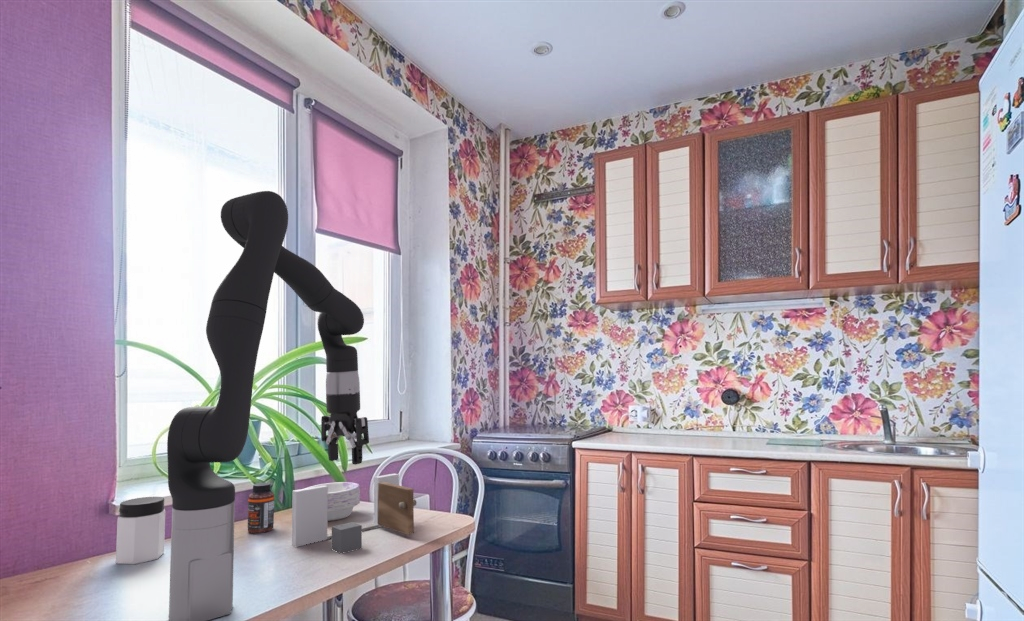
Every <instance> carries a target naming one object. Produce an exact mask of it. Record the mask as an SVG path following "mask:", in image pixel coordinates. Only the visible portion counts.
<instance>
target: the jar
mask: <svg viewBox="0 0 1024 621" xmlns="http://www.w3.org/2000/svg"><path fill="white" fill-rule="evenodd" d="M118 509H119V510H118V512H119V516H118V517H117V520H116V521H117V522H116V544H115V546H116V547H115V548H116V549H115V563H116V565H117V564H119V565H120V564H121V565H137V564H138V565H139V564H142V563H145V562H146V563H148V562H150V561H154V560H155V561H156V560H159V558H160V557H161V556H162V555H163V554H164V552H165V535H166V534H165V533H166V532H165V531H166V509H165V497H163V496H143V497H136V498H131V499H126V500H124V501H122V502H120V503H119V508H118Z"/></svg>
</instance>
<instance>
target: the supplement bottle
mask: <svg viewBox="0 0 1024 621" xmlns="http://www.w3.org/2000/svg"><path fill="white" fill-rule="evenodd" d="M247 503H248V504H247V532H248V533H250V534H264V533H268V532H271V531H272V530H274V522H275V521H274V520H275V518H274V517H275V515H274V513H275V493H274V491H272V490H271V483H270V482H257V483H254V484H253V485H252V492H251V493H250V494H249V495H248V501H247ZM263 532H264V533H263Z"/></svg>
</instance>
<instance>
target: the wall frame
mask: <svg viewBox="0 0 1024 621" xmlns="http://www.w3.org/2000/svg"><path fill="white" fill-rule="evenodd" d="M378 482H386V483H390V484H394V485H399V486H400V474H398V473H389V474H383V475H378V476H373V492H374V493H373V523H371V524H370V523H369V524H366V525H362V532H365V530H366V531H369V529H370V530H374V529H378V528H382V527H383V526H380V525H379V524H378ZM291 499H292V502H291V503H292V505H291V506H292V507H291V508H292V509H291V511H292V512H291V513H292V514H291V546H293V547H295V548H298V547H302V546H307V545H311V544H314V542H315V543H319V542H322V540H323V541H326V540H325V539H328V540H330V538H332V532H331V533H328V521H327V511H328V486H324V485H323V486H317V487H311V488H307V487H305V488H302V489H301V488H299V489H295V490H294V489H293V490H292V498H291ZM318 541H319V542H318ZM310 543H311V544H310ZM306 544H307V545H306Z"/></svg>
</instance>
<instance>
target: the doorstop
mask: <svg viewBox="0 0 1024 621" xmlns="http://www.w3.org/2000/svg"><path fill="white" fill-rule="evenodd" d="M362 526H363V525H362V524H360V523H356V522H355V521H354V522H353V521H352V522H347V523H342V524H337V525H333V526H331V533H332V539H331V550H332V549H333V550H335V551H337V552H340V553H342V554H344V553H343V552H346V553H349V552H348V551H350V552H352V550H354V551H357V550H361V549H362V547H363V544H362V542H363V541H362V540H363V539H362V536H363V534H362V533H363V531H362ZM360 548H361V549H360ZM356 549H357V550H356ZM333 550H332V551H333ZM335 551H334V552H335ZM337 552H336V553H337ZM340 553H339V554H340Z"/></svg>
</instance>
